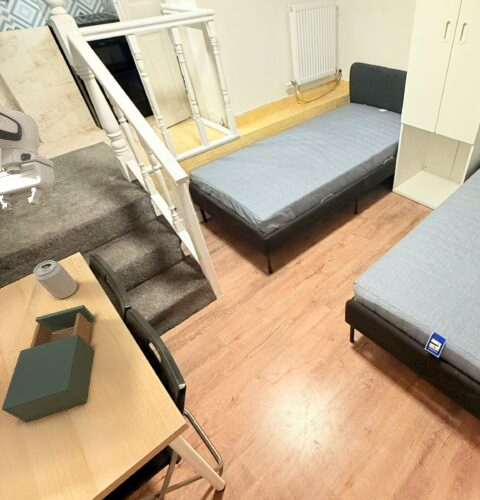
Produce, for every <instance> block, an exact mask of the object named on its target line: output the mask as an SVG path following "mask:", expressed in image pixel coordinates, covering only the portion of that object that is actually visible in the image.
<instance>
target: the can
mask: <svg viewBox="0 0 480 500" xmlns="http://www.w3.org/2000/svg"><path fill="white" fill-rule="evenodd" d="M32 273H33V278H34V279H35V280H36V282H38V283H39V284H40V285H41V287H43V289H45V291H47V292H48V293H49V294H50V295H51V297H53V298H54V299H59V300H60V299H66V298H68V297H70V296H71V295H73V294H74V293H75V292H76V291H77V289H78V282H76V280H75V279H74V278H73V277H72V275H71V274H70V273H69V272H68V271H67V270H66V269H65V268H64V266H63V265H62V263H60V262H58V261H55V260H53V259H48V260H44V261H41V262H40V263H38V264H37V265H36V266H35V267H34V268H33V271H32Z"/></svg>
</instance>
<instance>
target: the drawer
mask: <svg viewBox="0 0 480 500" xmlns="http://www.w3.org/2000/svg"><path fill="white" fill-rule="evenodd" d="M95 321H96V317H95V316H94V314H93V313H92V312H91V311H90V310H89V309H88V307H86V306H85V304H82V305H78V306H74V307H71V308H70V307H69V308H67V309H63V310H59V311H55V312H51V313H48V314H47V313H46V314H43V315H40V316H37V317H35V323H37V324H36V326H35V329H34V333H33V336H32V340H31V343H30V345H29V346H30V347H29V348H32V347H35V346H39V345H42V344H46V343H49V342H53V341H57V340H60V339H64V338H67V337H71V336H74V335H79V336H80V337H81V338H82V339H83V340H84V341H85V342H86V343H87V344H88V345H89V342H90V336H91V329H92V323H93V322H95Z"/></svg>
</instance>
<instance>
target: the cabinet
mask: <svg viewBox="0 0 480 500" xmlns="http://www.w3.org/2000/svg"><path fill="white" fill-rule="evenodd" d="M94 355H95V350H94V348H93V347H92V346H91V345H90V344H89V343H88V344H87V343H86V342H85V341H84V340H83V339H82V338H81V337H80V336H79V335H74V336H71V337H67V338H64V339H60V340H57V341H53V342H49V343H46V344H42V345H39V346H35V347H32V348H30V347H29V348H24V349H21V350H20V352H19V354H18V357H17V360H16V364H15V366H14V370H13V373H12V376H11V379H10V381H9V385H8V388H7V391H6V395H5V397H4V401H3V404H2V407H1V411H3V412H5V413H6V414H9V415H11V416H12V417H15V418H16V419H19V420H20V421H23V422H24V423H29V422H32V421H36V420H39V419H42V418H45V417H48V416H51V415H54V414H57V413H60V412H63V411H66V410H69V409H72V408H76V407H79V406H81V405H86V404H87V403H88V396H89V388H90V383H91V377H92V368H93V363H94Z"/></svg>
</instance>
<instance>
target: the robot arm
mask: <svg viewBox="0 0 480 500" xmlns="http://www.w3.org/2000/svg"><path fill="white" fill-rule="evenodd" d="M39 148H40V131H39V127H38V124H37V122H36V121H35V119H34V118H33V117H32V116H31V115H29V114H27V113H26V112H23V111H19V110H12V109H11V110H5V111H4V110H0V168H1V169H0V204H1V206H2V208H1V209H2V211H5V212H6V211H7V212H9V211H12V210H13V206H14V205H13V204H11V203H10V201H11V198H15V197H19V196H24V195H26V194H31V196H30V197H28V203H29V204H30V205H33V206H35V205H39V204H40V198H41V196H42V194H43V191H44V190H48V189H51V188H53V186H54V185H55V171H54V165H55V163H54V161H52V160H50V159H49V158H46V157H44V156H41V155H40V154H39Z"/></svg>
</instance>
